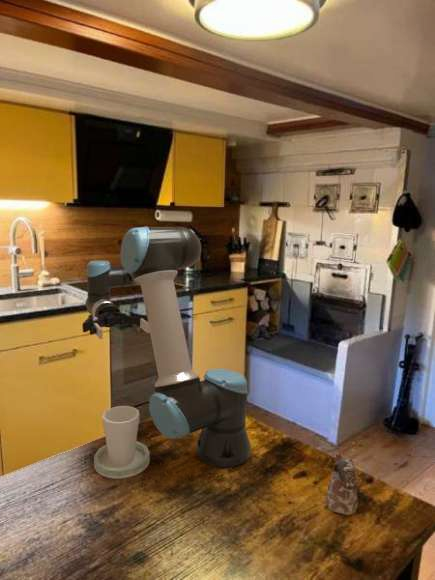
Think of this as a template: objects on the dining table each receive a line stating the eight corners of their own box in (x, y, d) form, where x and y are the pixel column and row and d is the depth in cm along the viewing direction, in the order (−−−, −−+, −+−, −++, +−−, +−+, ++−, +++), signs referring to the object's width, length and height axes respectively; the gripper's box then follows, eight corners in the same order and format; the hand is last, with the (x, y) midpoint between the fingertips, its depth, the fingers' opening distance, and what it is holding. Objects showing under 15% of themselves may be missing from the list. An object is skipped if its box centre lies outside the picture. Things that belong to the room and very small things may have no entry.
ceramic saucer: (160, 459, 116) (160, 452, 116) (119, 486, 105) (119, 478, 104) (124, 440, 124) (124, 434, 124) (82, 463, 113) (82, 456, 113)
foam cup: (131, 472, 109) (130, 425, 106) (97, 467, 111) (95, 420, 108) (144, 452, 118) (144, 408, 116) (113, 447, 120) (112, 403, 117)
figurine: (339, 518, 96) (343, 470, 94) (319, 498, 102) (323, 453, 100) (363, 509, 99) (368, 462, 97) (342, 491, 105) (346, 446, 103)
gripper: (143, 320, 146) (166, 338, 128) (66, 328, 134) (80, 350, 116) (143, 299, 144) (167, 314, 126) (65, 305, 133) (79, 323, 114)
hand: (125, 331), depth 121 cm, fingers open, 13 cm apart
